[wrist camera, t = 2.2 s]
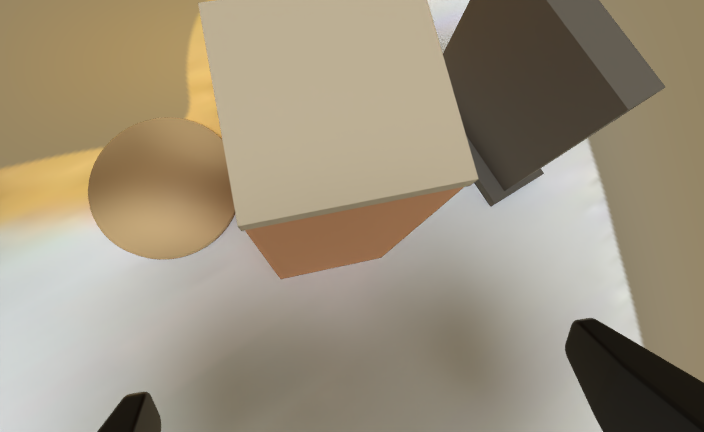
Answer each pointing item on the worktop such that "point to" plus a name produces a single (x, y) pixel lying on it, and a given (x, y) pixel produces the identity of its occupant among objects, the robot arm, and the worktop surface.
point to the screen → (539, 83)
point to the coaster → (162, 188)
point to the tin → (333, 125)
